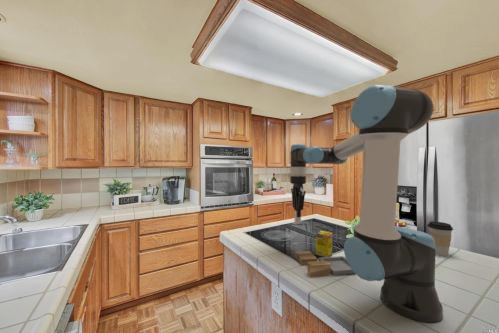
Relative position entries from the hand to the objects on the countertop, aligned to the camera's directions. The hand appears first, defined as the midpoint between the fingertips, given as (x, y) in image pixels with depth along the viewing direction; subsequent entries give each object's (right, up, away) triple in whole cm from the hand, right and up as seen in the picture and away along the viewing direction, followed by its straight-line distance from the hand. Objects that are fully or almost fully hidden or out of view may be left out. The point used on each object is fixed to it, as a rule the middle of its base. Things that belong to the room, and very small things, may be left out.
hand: (297, 223), depth 104 cm
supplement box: (+12, -15, -4) cm, 19 cm away
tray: (+14, -15, -16) cm, 26 cm away
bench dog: (+3, -14, -22) cm, 26 cm away
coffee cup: (+70, -15, -1) cm, 72 cm away
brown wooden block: (+1, -15, -10) cm, 18 cm away
